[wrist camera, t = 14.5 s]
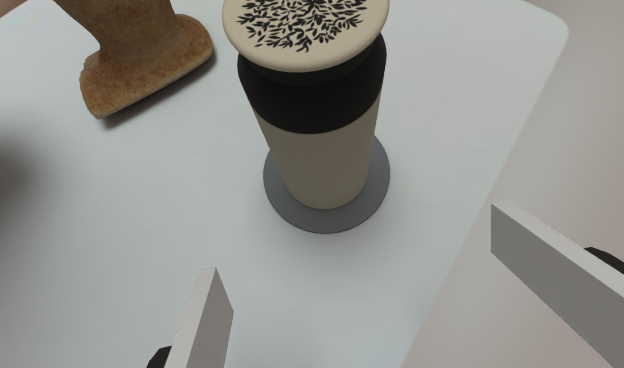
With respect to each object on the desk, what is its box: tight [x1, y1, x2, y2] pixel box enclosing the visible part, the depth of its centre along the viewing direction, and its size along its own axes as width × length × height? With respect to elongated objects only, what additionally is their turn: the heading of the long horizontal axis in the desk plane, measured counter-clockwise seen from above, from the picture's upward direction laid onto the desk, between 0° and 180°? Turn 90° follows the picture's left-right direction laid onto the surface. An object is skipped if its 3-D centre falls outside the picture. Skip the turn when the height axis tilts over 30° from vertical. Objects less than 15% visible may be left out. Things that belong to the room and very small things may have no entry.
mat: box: [263, 135, 390, 233], centre depth 31 cm, size 12×12×1 cm
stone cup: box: [53, 0, 213, 119], centre depth 32 cm, size 15×12×15 cm
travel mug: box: [222, 0, 389, 209], centre depth 23 cm, size 8×8×18 cm
